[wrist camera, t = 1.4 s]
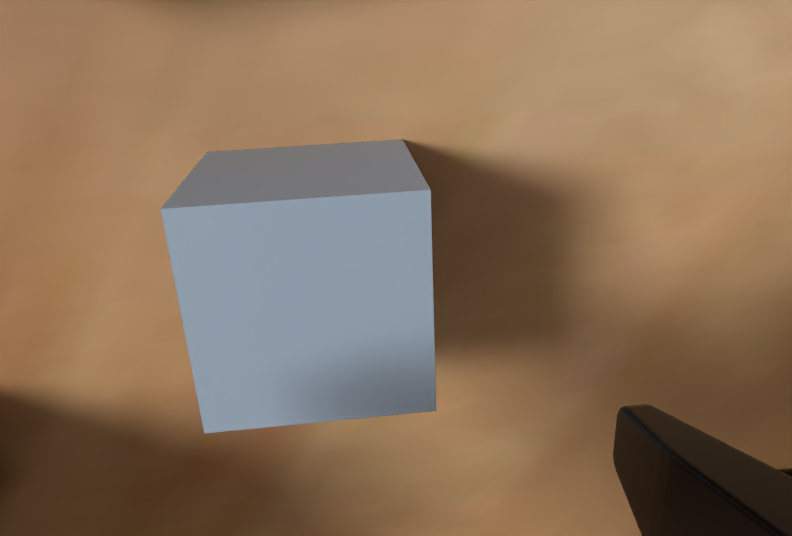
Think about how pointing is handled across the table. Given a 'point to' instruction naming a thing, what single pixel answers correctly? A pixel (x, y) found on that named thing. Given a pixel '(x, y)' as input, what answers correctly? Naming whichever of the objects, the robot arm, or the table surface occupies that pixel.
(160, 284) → the table surface
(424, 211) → the blue cube
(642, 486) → the robot arm
